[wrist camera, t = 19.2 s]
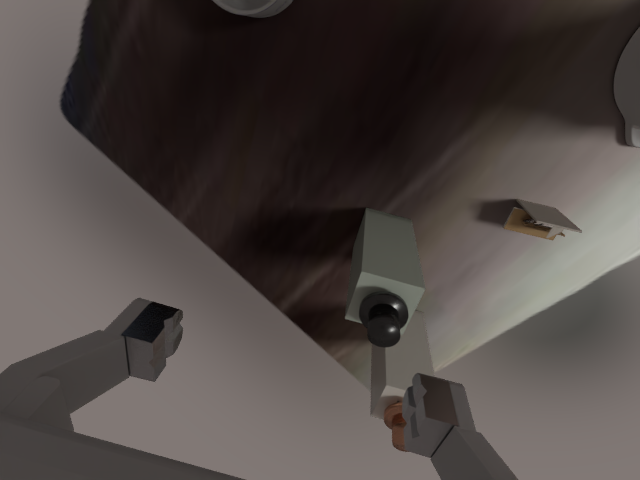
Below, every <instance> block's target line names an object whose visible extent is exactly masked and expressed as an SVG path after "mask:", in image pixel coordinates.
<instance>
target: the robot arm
mask: <svg viewBox="0 0 640 480" xmlns="http://www.w3.org/2000/svg"><path fill="white" fill-rule="evenodd" d="M614 97H615V101H616V104H617V106H618V108H619V110H620V112H621V114H622V115H623V117H624V120H625V140H626V143H627V144H628V145H629V146H633V147H638V148H640V27H639V28H638V29H637V31H636V32H635V33H634V35H633V36H632V37H631V39H630V40H629V42H628V44H627V45H626V47H625V49H624V51H623V53H622V55H621V57H620V59H619V62H618V65H617V68H616V72H615V76H614ZM182 318H183V312H182V310H179V309H176V308H173V307H170V306H166V305H163V304H159V303H156V302H152V301H149V300H145V299H141V298H137V299H135V300H134V301H133V302H132V303H131V304H130V305H129V306H128V307H127V308H126V309H125V310H124V311H123V312H122V313H121V314H120V315H119V316H118V317H117V318H116V319H115V320H114V321H113V322H112V323H111V324H110V325H109V326H108V327H107V328H106V329H105V330H104V331H101V330H98V331H95V332H93V333H90V334H88V335H85V336H83V337H80V338H77V339H75V340H72V341H70V342H68V343H65V344H62V345H60V346H57V347H55V348H52V349H50V350H47V351H45V352H42V353H39V354H37V355H34V356H32V357H29V358H27V359H24V360H22V361H19V362H16V363H14V364H11V365H10V366H9V367H8V368H7V369H6V370H4V371H3V372H2V373H1V374H0V480H245V479H241V478H238V477H234V476H230V475H227V474H223V473H219V472H216V471H212V470H209V469H205V468H202V467H198V466H194V465H191V464H187V463H184V462H180V461H176V460H173V459H169V458H166V457H162V456H158V455H154V454H151V453H147V452H144V451H140V450H136V449H133V448H130V447H126V446H122V445H119V444H115V443H112V442H108V441H104V440H100V439H97V438H94V437H90V436H86V435H83V434H79V433H76V432H74V428H73V424H72V421H71V418H70V413H72V412H74V411H75V410H77V409H79V408H80V407H82V406H84V405H85V404H87V403H89V402H90V401H92V400H93V399H95V398H97V397H98V396H100V395H101V394H103V393H105V392H106V391H108V390H109V389H111V388H113V387H114V386H116V385H117V384H119V383H121V382H122V381H124V380H126V379H127V378H129V376H133V377H137V378H141V379H145V380H149V381H153V382H155V381H156V379H157V378H158V376H159V375H160V373H161V372H162V371H163V369H164V368H165V366H166V358H167V357H169V356H171V355H173V354H174V353H175V351H176V350H177V348H178V346H179V344H180V341H181V338H182V333H183V327H182V326H181V324H180V321H181V320H182ZM412 384H413V386H410V387H408V388H407V390H406V392H405V394H404V398H403V402H402V417H403V418H404V420H405V421H406V423H407V424H406V426H405V428H404V429H403V432H404V445H405V450H406V451H409V452H413V453H416V454H419V455H422V456H426V457H429V458H431V461H432V463H433V465H434V467H435V469H436V471H437V472H438V474H439V476H440V478H441V480H518V479H517V478H516V476H515V475H514V474H513V472H512V471H511V470H510V469H509V467H508V466H507V465H506V464H505V463H504V461H503V460H502V459H501V458H500V456H499V455H498V454H497V453H496V451H495V450H494V449H493V448H492V446H491V445H490V444H489V443H488V441H487V440H486V439H485V438H484V437H483V435H482V434H481V433H479V432H476V429H475V425H474V421H473V418H472V414H471V411H470V407H469V403H468V399H467V396H466V392H465V388H464V386H463V385H462V384H459V383H455V382H452V381H448V380H444V379H441V378H437V377H433V376H429V375H425V374H421V373H416V374H415V375H414V377H413V379H412Z"/></svg>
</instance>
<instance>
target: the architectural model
mask: <svg viewBox="0 0 640 480" xmlns="http://www.w3.org/2000/svg"><path fill="white" fill-rule="evenodd" d="M516 201H517V202H518V203H519V204H520V205H521V206H522V207H523V209H520V208H516V207H513V209H512V211H511V213H510V215H509V217H508V219H507V221H506V222H505V224H504V226H503V228H504V229H508V230H512V231H516V232H520V233H524V234H528V235H533V236H537V237H541V238H545V239H549V240H554V238H555V236H556V235H562V236H564V237H565V235H564V234H563V233H562V231H563V230H564V229H568V230H572V231H576V232H580V233H581V232H582V231H581V230H580V229H579V228H578V227H577V226H576V225H575V224H573V223H572V222H571V221H570V220H569V219H568V218H567V217H565V216H564V215H563V214H562V213H561V212H560V211H559V210H557V209H556V208H553V207H549V206H545V205H541V204H536V203H532V202H528V201H524V200H519V199H516ZM528 219H534V220H535V221H536V222H534V223H537V222H538V223H542V224H547V225H551V226H553V227H552V228H551V227H547V226H542V224H539V225H538V224H534V223H530V222H526V221H524V220H528Z"/></svg>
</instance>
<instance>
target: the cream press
mask: <svg viewBox="0 0 640 480" xmlns="http://www.w3.org/2000/svg"><path fill="white" fill-rule="evenodd" d="M416 373H421V374H425V375H429V376H433V377H435V376H434V370H433V364H432V359H431V353H430V347H429V342H428V336H427V330H426V325H425V319H424V313H423V312H421V311H417V310H415V311H414V313H413V315H412V317H411V319H410V321H409V323H408V325H407V327H406V329H405V331H404V333H403V335H402V334H400V340H399V342H398V343H397V344H396V345H394V346H391V347H386V348H384V347H378V346H376V345H374V344H372V359H371V414H370V415H371V416H372V417H375V418H379V419H383V420H384V410H385V409H386V408H387V407H388V406H389V405H391V404H394V403H398V401H401V402H403V398H404V394H405V392H406V390H407V388H408V387H410V386H413V384H412V379H413V377H414V375H415V374H416Z"/></svg>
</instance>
